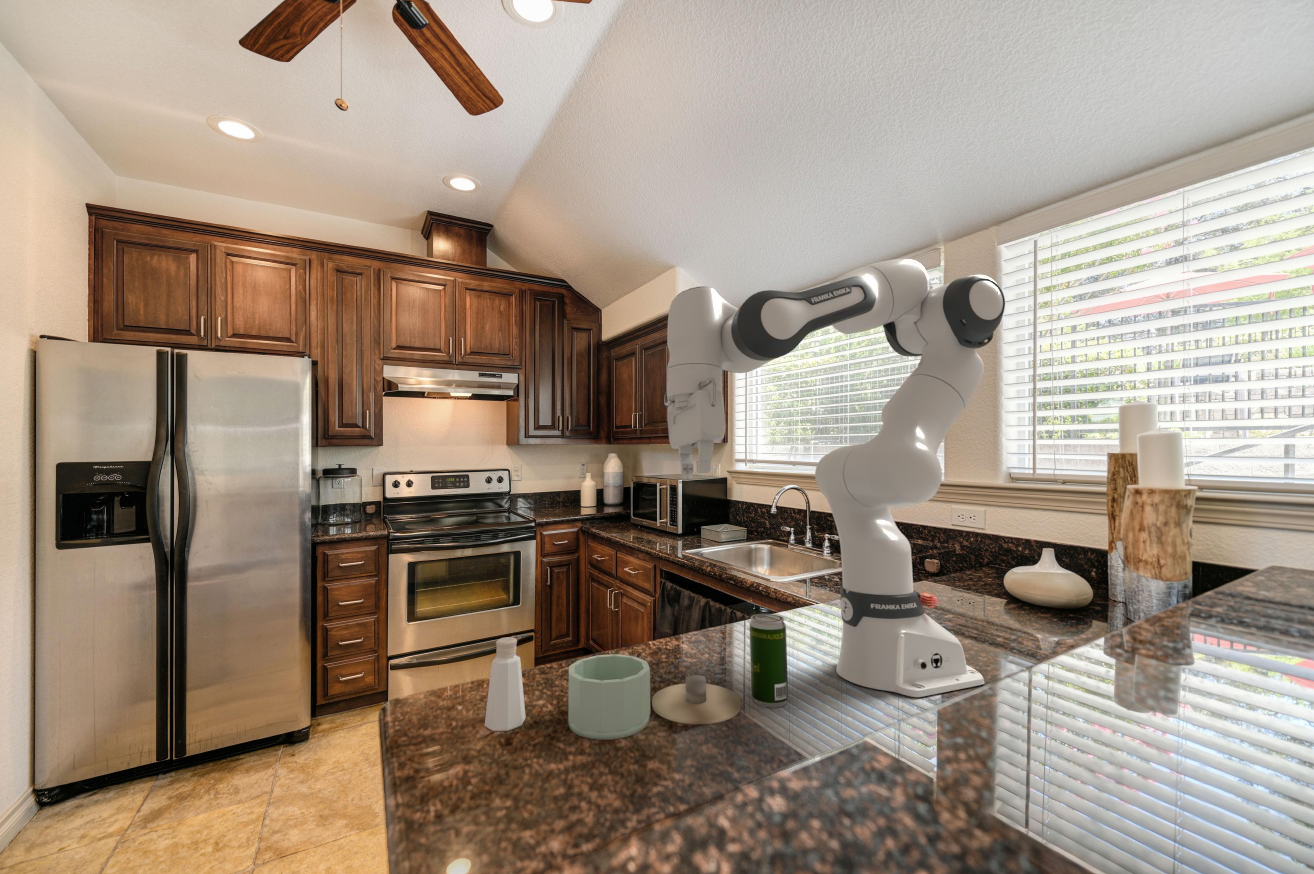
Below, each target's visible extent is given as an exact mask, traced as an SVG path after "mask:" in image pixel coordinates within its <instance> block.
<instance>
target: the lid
mask: <svg viewBox="0 0 1314 874" xmlns="http://www.w3.org/2000/svg"><path fill="white" fill-rule="evenodd" d="M651 707H652V710H653V711H654V712H655V714H657V715H659V716H660V717H662V718H664V719H666V720H669V721H672V722H676V723H680V724H687V725H710V724H711V725H712V724H716V723H717V724H718V723H721V722H725V721H728V720H730V719H732V718H734V717H735V716H737V715H738V714H739V713H740V711H741V708H742V701H741V698H740V696H739V695H738V694H737V693H735V692H734V691H733V690H730V689H728V688H725V687H723V686H720V685H715V684H709V683H707V678H706V677H705V676H703V675H700V674H691V675H688V676H685V683H678V684H674V685H669V686H666V687H663V688H662V689H659V690H658V691H657V692H655V693H654V695H652V698H651Z"/></svg>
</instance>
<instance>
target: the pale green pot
mask: <svg viewBox="0 0 1314 874" xmlns="http://www.w3.org/2000/svg"><path fill="white" fill-rule="evenodd" d="M567 703H568V709H567V710H568V716H567V717H568V719H567V721H568V724H567V725H568V728H569V729H570V730H571V731H572V732H573V733H574V734H576V735H577V736H580V737H583V738H585V739H586V738H587V739H591V740H601V741H603V740H605V741H608V740H617V739H619V740H620V739H622V738H623V739H624V738H627V737H631V736H633V735H635V734H638V733H640V732H641V731H643V730H644V729H646V727H647V726H648V725H649V723H650V715H651V667H650V666H649V663H648V661H647V660H645V659H642V658H640V657H637V656H634V655H629V654H627V655H626V654H617V653H615V654H599V655H594V656H589V657H585V658H581V659H578V660H576V661H575V662H573V663H572V664H570V665H569V666H568V702H567Z"/></svg>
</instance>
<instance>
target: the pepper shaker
mask: <svg viewBox="0 0 1314 874" xmlns="http://www.w3.org/2000/svg"><path fill="white" fill-rule="evenodd" d="M517 644H518V639H517V638H515V637H512V636H511V637H509V636H508V637H501V638H499V639H497V640H496V642H495V645H496V649H495V650H496V656H495V658H494V659H492V662H491V667H490V675H489V684H488V685H489V686H488V693H487V694H488V695H487V701H486V710H485V717H484V718H485V719H484V726H485V727H486V728H488V729H489V730H491V731H492V732H505V731H507V732H508V731H511V730H514V729H516V728H519V727H522V725H523V723H524V722H525V720H526V709H525V708H526V706H525V697H524V685H523V684H524V683H523V674H522V673H523V672H522V663H521V657H520V656H519V655H517Z"/></svg>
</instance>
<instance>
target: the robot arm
mask: <svg viewBox="0 0 1314 874" xmlns="http://www.w3.org/2000/svg"><path fill="white" fill-rule="evenodd" d="M1005 309H1006V299H1005V295H1004V292H1003V290H1002V288H1001V287H1000V286H999V284H998V283H997V282H996V281H995V280H994V279H993V278H991V277H989V276H987V275H984V274H974V275H973V274H971V275H967V276H962V277H959V278H955V279H954V280H952V281H951V282H948V283H946V284H943V285H940V286H938V287H936V288H934V287H933V286H932V285H930V278H929V275H928V272H927V269H925V267H924V266H923V264H921V263H920V262H918V261H917V260H914V259H912V258H896V259H895V258H894V259H888V260H883V261H878V262H874V263H871V264H868V265H863V266H861V267H858V268H855V269H853V270H850V271H848V272H846V273H844V274H842V275H840V276H838V277H837V278H834V280H832V281H830V282H829V283H827V284H823V285H821V286H817V287H814V288H810V289H805V290H802V291H798V292H797V291H796V292H794V291H793V292H792V291H791V292H788V291H781V290H773V289H772V290H771V289H770V290H761V291H758V292H756V293H753V294H751V295H750V296H749V297H747V298H746V299H745V300H744V302H743V303H742V304H741V305H740V307H739V308H738V307H736V306H735V305H732V304H731V303H729V302H728V301H727V300H726V299H724V298H723V297H722V296H721V295H720V294H719V293H718V291H717V290H716V289H715V288H713V287H710V286H696V287H691V288H688V289H685V290H683V291H681V292H679V293H678V294H677V295H676V296H675V297H674V298H673V299H672V301H671V303H670V305H669V309H668V318H667V337H666V341H667V343H666V344H667V348H668V351H669V360H668V362H667V363H668V364H667V366H666V367H667V371H666V374H667V375H666V376H667V377H666V378H667V379H666V390H665V393H664V398H663V399H664V401H663V402H664V406H668V407H667V427H668V428H667V429H668V440H669V444H670V447H671V449H677V450H678V457H679V463H680V473H681V475H693V474H694V463H693V459H692V456H693V455H692V454H693V448H697V451H698V454H697V455H698V456H697V460H696V472H697V473H698V474H708V473H710V472H711V470H712V468H711V464H712V463H711V461H712V458H713V453H714V448H715V447H714V443H715V442H717V441H722V440H723V439H724V437H725V435H726V434H725V433H726V416H725V415H726V413H725V404H724V403H725V402H724V395H723V373H722V372H723V371H725V372H730V373H735V374H746V373H749V372H752V371H753V372H754V371H755V370H757V369H758V368H760V367H762V366H764V365H766V364H767V363H769V362H772V361H774V360H776V359H779V358H781V357H784V356H785V355H786V356H787V354H789V353H791V352H792V351H794V350H795V349H796V347H798V346H799V344H801V342H802V341H803V340H804V339H805V338H806V337H807V336H808V335H809V334H811V333H814V332H816V331H819V330H823V329H825V328H828V327H833V328H834V329H835V330H836V331H838V332H839V333H842V334H844V335H850V334H857V333H858V334H859V333H864V332H867V331H871V330H873V329H877V328H879V327H883V331H884V335H885V338H886V340H887V343H888V344H889V346H890V347H891V348H892V349H893V351H894V352H895V353H897V354H898V355H900V356H902V357H920V359H919V362H918V364H917V367H916V368H915V369H914V370H913V371H912V372H911V374H909V376H908V377H907V378H906V379H905V380H904V382H903V383H902V384H901V385H900V386H899V388H898V389H897V390H896V391H895V393H894V394H893V395H892V396H891V397H890V399H889V400H888V401H887V403H886V404H885V405H884V406H883V408H882V411H881V413H880V414H881V421H882V426H881V428H880V430H879V432H878V433H877V434H876V436H874V437H873V438H871V439H870V440H869V441H867V442H864V443H859V444H851V445H845V446H844V445H843V446H841V447H838V448H836V449H834V450H832V451H830V452H828V453H827V454H825V455H824V456H823V457H821V458H820V460H819V461H818V463H817V465H816V468H815V472H814V474H815V475H814V477H815V483H816V486H817V488H818V490H819V491H820V493H821V494H822V495H823V496H824V497H825V499H826V500H827V503H828V505H829V507H830V510H831V514H832V517H833V520H834V523H835V526H836V530H837V531H836V532H837V534H838V538H839V545H840V558H841V559H840V560H841V575H842V585H841V586H840V592H839V593H840V614H841V620H842V633H841V644H840V652H839V657H838V661H837V665H836V668H835V671H836V673H837V675H838V676H840V677H841V678H842V679H844V680H846V681H849V682H850V683H852V684H856V685H859V686H862V687H865V688H869V689H874V690H880V691H886V692H891V693H892V692H893V693H897V694H900V695H903V696H907V697H913V698H921V697H927V696H931V695H937V694H943V693H947V692H952V691H957V690H961V689H967V688H973V687H977V686H981V685H984V684H985V679H984V677H983V675H982V674H981V672H979V671H978V670H976V669H975V668H973V667H971V666H970V665H968V664H967V660H966V656H965V651H964V649H963V646H962V644H961V642H960V640H959V639H958V638H957V637H956V636H955V635H954V634H952V633H951V632H950V631H949V630H947V629H946V628H944V627H943V626H942V625H941V624H939V623H938V622H936V621H935V620H934V619H932V618H931V617H930V616H929V615H928V614H926V613H925V612H926V611H925V609H924V606H927V607H928V608H933V609H934V608H935V607H937V605H938V598H937V597H936V596H935V595H933V594H930V593H928V592H927V593H925V592H924V593H922V594H921V593H920V592H918V591H917V590H915V589H914V579H913V563H912V562H913V560H912V559H913V558H912V548H911V547H912V546H911V544H910V541H909V539H908V538H907V537H906V535H904V534H903V533H902V532H901V531H900V529H899V528H898V526H897V524H896V522H895V520H894V517H893V515H892V511H891V509H890V508H893V509H901V508H906V507H911V506H915V505H919V504H922V503H926V502H927V501H929V500H931V499H932V498H933V497H934V496H935V495H936V494H937V492H938V491H939V489H940V486H941V483H942V477H943V471H942V466H941V463H940V460H939V458H938V456H937V454H938V450H939V447H940V445H941V443H942V442H943V440H944V439H945V438H946V436H947V434H948V433H949V432H950V430H951V429H952V428H953V426H954V425H955V423H956V422H957V421H958V420H959V418H960V417H961V415H962V414H963V413H964V411H965V410H966V409H967V407H968V406H969V404H970V403H971V401H972V400H973V398H974V396H975V394H976V393H977V391H978V388H979V386H980V384H981V381H982V380H983V377H984V374H985V364H984V361H983V359H982V358H981V356H980V355H979V354H978V352H977V350H978V349H981V348H983V347H985V346H987V345H988V344H989V343H991V342H992V340H993V338H994V334H995V333H994V332H995V331H996V330H997V329H998V327H999V326H1000V323H1001V322H1002V319H1003V316H1004V313H1005ZM986 340H987V341H986Z"/></svg>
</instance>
